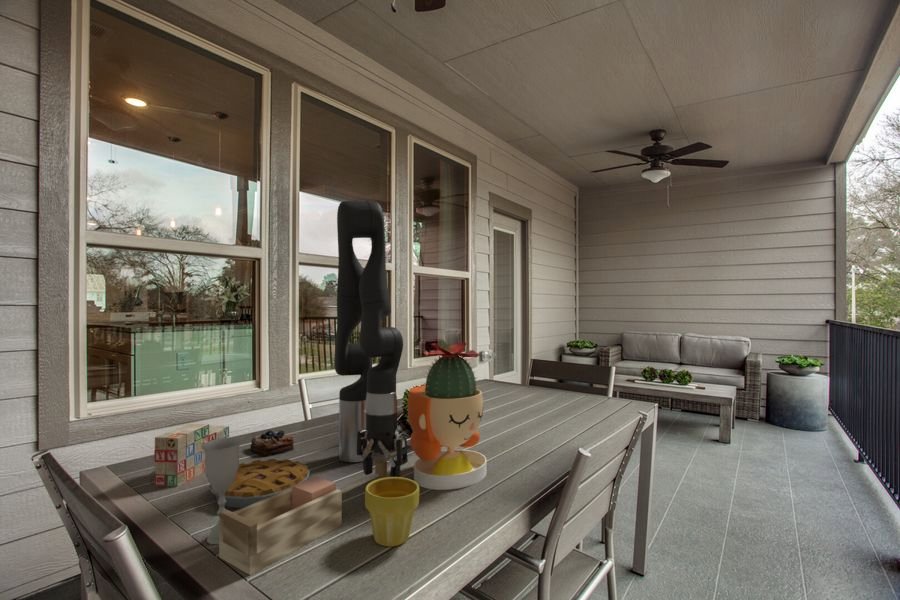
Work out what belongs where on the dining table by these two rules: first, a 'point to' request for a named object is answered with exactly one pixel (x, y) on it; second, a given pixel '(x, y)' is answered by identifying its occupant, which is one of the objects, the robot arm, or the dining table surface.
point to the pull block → (329, 486)
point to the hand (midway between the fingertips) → (381, 477)
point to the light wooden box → (275, 528)
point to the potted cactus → (447, 422)
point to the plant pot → (391, 508)
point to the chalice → (221, 472)
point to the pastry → (271, 443)
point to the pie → (263, 481)
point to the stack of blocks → (183, 452)
